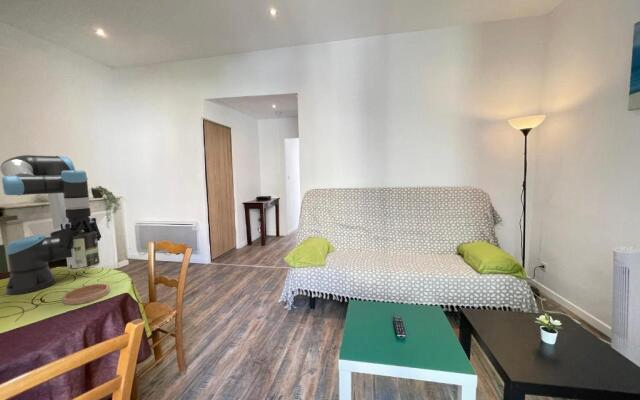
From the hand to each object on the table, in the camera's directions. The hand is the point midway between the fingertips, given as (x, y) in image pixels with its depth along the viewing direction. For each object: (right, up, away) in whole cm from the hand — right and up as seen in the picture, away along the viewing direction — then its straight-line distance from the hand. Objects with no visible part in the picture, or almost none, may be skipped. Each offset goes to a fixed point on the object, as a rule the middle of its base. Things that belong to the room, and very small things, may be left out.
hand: (83, 259), depth 108 cm
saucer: (0, -16, +2) cm, 16 cm away
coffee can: (0, -3, 0) cm, 3 cm away
